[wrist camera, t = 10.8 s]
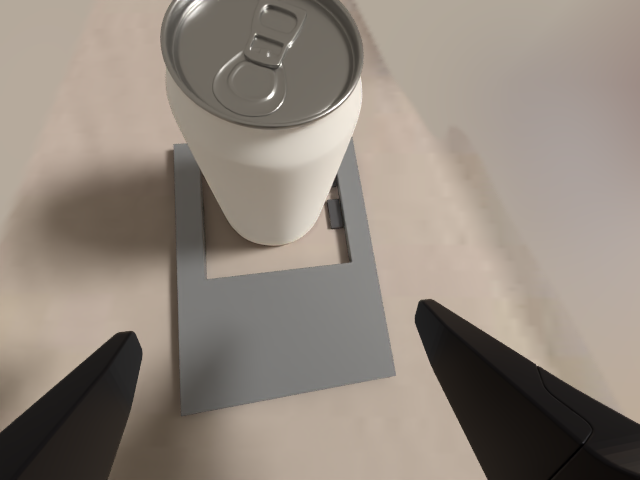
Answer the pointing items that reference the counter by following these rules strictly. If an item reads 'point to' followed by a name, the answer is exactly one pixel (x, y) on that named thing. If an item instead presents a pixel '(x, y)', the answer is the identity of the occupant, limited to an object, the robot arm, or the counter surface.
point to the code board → (276, 310)
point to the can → (265, 104)
